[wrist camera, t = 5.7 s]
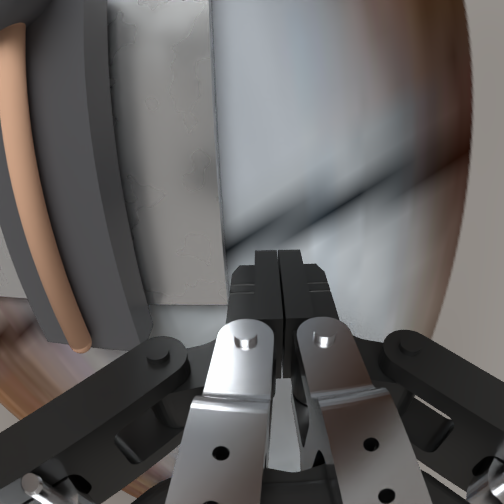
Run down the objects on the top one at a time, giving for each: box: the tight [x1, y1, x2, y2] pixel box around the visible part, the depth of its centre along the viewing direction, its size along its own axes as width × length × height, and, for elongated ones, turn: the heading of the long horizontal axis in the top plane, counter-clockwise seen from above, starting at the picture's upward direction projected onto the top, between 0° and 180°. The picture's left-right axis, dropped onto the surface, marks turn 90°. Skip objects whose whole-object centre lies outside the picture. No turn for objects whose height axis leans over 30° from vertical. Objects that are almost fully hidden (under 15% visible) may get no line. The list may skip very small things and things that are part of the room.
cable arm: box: [0, 0, 153, 353], centre depth 10 cm, size 19×6×4 cm, turn 2°
